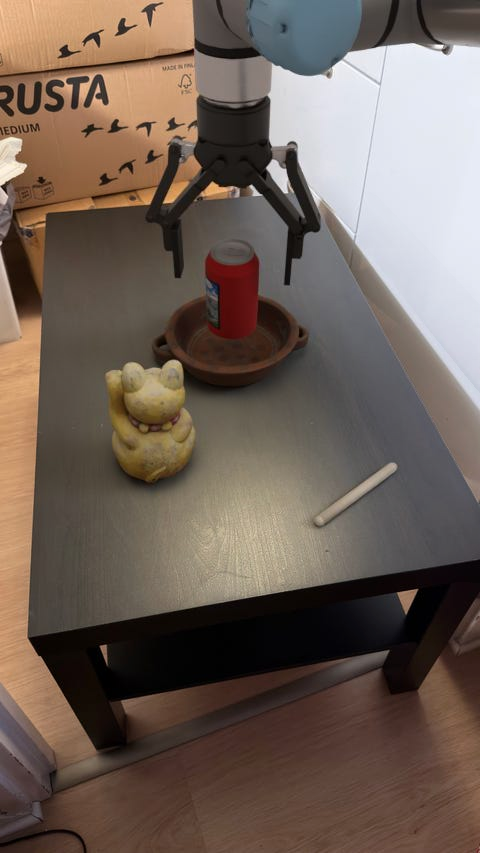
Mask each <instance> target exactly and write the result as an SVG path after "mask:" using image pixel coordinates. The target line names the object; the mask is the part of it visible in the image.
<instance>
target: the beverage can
mask: <svg viewBox="0 0 480 853" xmlns="http://www.w3.org/2000/svg"><path fill="white" fill-rule="evenodd" d="M204 277H205V278H204V279H205V280H204V282H205V295H206V311H207V326H208V328H209V330H210V331H211V332H212V333H213V334H215V335H216V336H218V337H221V338H225V339H239V338H243V337H246V336H248V335H250V334H251V333H252V332H253V331H254V330H255V328H256V325H257V309H258V295H259V287H260V286H259V283H260V259H259V257H258V255H257V253H256V251H255V248H254V246H253V244H251V243H250V242H249V241H247V240H245V239H242V238H237V237H235V238H234V237H229V238H224V239H219V240H218V241H216V242H214V243H213V244H212V245H211V247H210V250H209V252H208V253H207V255H206V257H205V260H204Z"/></svg>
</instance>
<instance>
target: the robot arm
mask: <svg viewBox="0 0 480 853" xmlns="http://www.w3.org/2000/svg"><path fill="white" fill-rule="evenodd" d="M192 22H193V23H192V24H193V40H194V42H193V44H194V45H193V52H194V53H193V55H194V56H193V57H194V78H195V79H194V80H195V81H194V82H195V91H196V92H197V94H198V96H197V97H196V100H195V102H196V104H195V106H196V126H197V128H196V129H197V139H196V142H193V141H187V140H184V139H183V138H182V136H180V135H178V134H177V135H174V136H172V138H171V140H170V143H169V146H168V148H167V164H166V167H165V169H164V171H163V174H162V176H161V178H160V180H159V182H158V185H157V187H156V189H155V192H154V195H153V197H152V199H151V201H150V203H149V206H148V208H147V211H146V212H145V216H144V219H145V221H146V222H147V223H148V224H153V223H155V224H158V225H159V226H160V227H161V230H162V231H161V232H162V241H163V242H162V243H163V248H164V251H165V252H172V262H173V275H174V279H182V276H183V272H184V269H185V259H184V258H185V257H184V245H183V230H182V229H183V228H182V219H181V218H180V217H181V216H182V215H183V214H184V213H185V212H186V210H187V209H189V207H190V206H191V205H192V204H193V203H194V202H195V201H196V199H197V198H198V197H199V196H200V195H201V194H202V193H203V192H205V190H206V189H207V188H208V187H209V186H210V185H211V184H212V183H213V184H215V185H217V186H218V188H229V187H234V188H237V189H244V190H245V189H247V187H250V186H253V188H254V189H255V190H256V192H257V193H258V194H259V195H261V196H262V197H263V198H264V199H265V200H266V201H267V202H268V204H269V205H270V207H271V208H272V209H273V210H274V211H275V213H276V214H277V215H278V216H279V218H280V219H281V220H282V221H283V223H284V224H285V225H286V226H287V237H286V249H285V251H286V252H285V265H284V278H283V286H291V276H292V264H293V260H300V259H301V258H302V257H303V250H304V241H305V237H306V235H307V234H309V233H311V232H312V233H315V234H317V233H319V232H320V231H321V228H322V225H321V224H322V215H321V213H320V211H319V209H318V206H317V204H316V201H315V199H314V196H313V194H312V192H311V189H310V186H309V184H308V182H307V179H306V177H305V175H304V172H303V170H302V167H301V165H300V163H299V145H298V143H297V141H294V140H291V141H288V142H287V144H286V145H278V146H273V145H272V143H271V141H270V127H271V126H270V125H271V124H270V123H271V104H272V102H271V101H272V100H271V98H270V97H269V94H270V93H271V92H272V78H273V77H272V76H273V65H274V66H275V67H281V68H282V69H283V70H285V71H289V72H290V73H293V74H294V75H298V76H303V77H314V76H319V75H323V74H325V73H327V72H328V71H329V70H330V69H332V68H333V67H334V66H335V65H336V64H338V63H339V62H342V60H344V58H345V57H347V55H348V53H353V52H361V51H366V50H372V49H376V48H382V47H390V46H399V45H408V44H409V45H410V44H421V45H422V44H423V45H424V44H425V45H435V46H436V45H437V46H458V47H468V48H480V0H192ZM191 156H193V157H194V159H195V161H196V162H197V163H198V165H199V166H200V167H201V168H200V169H199V170H198V172H197V173H196V175H194V177H193V178H192V179H191V180H190V182H188V184H187V185H186V186H185V187H184V188H183V190H182V191H181V192H180V193H179V194H178V195H177V197H176V198H175V199H174V200H173V202H171V204H170V205H169V206H168V207H166V208H162V206H163V204H164V202H165V200H166V197H167V195H168V193H169V191H170V188H171V186H172V184H173V182H174V180H175V177H176V175H177V173H178V170H179V168H180V165H181V164H185V163H187V161H188V159H189V157H191ZM272 160H273V161H277V163H278V166H279V167H280V168H281V169H282V170H285V171H286V176H287V179H288V182H289V184H290V187H291V189H292V190H293V193H294V195H295V197H296V200H297V202H298V204H299V207H300V209H301V211H302V214H303V216H304V217H303V216H302V214H301V213H300V212H299V210H298V209H297V208H296V207H295V205H294V204H293V202H292V201H291V200H290V199H289V198H288V196H287V195H286V194H285V193H284V191H283V190H282V189H281V187H280V186H279V185H278V183H277V182H276V180H274V179H273V177H272V174H271V172H270V171H269V170H268V168H267V167H268V166H270V164H271V162H272Z"/></svg>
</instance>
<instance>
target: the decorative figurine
mask: <svg viewBox="0 0 480 853" xmlns="http://www.w3.org/2000/svg"><path fill="white" fill-rule="evenodd" d="M184 378H185V376H184V367H183V366H182V365H181V363H180V362H179V361H177V360H170V361H168V362H165V363H164V365H163V366H162V367H161V368H159V367H150V368H147V369H144V367H143V366H142V365H141V364H139V363H137V362H133V361H130V362H127V363H125V365H124V366H123V368H122V370H120V369H111V370H109V371H108V372H106V373H105V375H104V379H105V383H106V384H105V385H106V387H107V392H108V398H109V400H108V414H109V415H108V416H109V420H110V422H111V427H112V428H113V430H114V431H113V433H112V436H111V446H112V450H113V452H114V455H115V457H116V459H117V462H118V464H119V465H120V467H121V469H122V470H123V471H124V472H125V473H126V474H128V475H129V476H130V477H132V478H136V479H138V480H143V481H145V482H146V483H156V482H157V481H158V480H159V479H165V478H168V477H171V476H173V475H174V476H175V474H178V472H180V471H181V470H182V469H183V468H184V467H185V466H186V464H187V463H188V462H189V460H190V457H191V455H192V453H193V451H194V448H195V446H196V442H197V441H196V438H197V436H196V431H195V428H194V426H193V425H194V424H193V419H192V417H191V414H190V413H189V411H188V410H187V409H185V408H184V404H185V401H186V389H185V386H184Z"/></svg>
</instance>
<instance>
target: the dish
mask: <svg viewBox="0 0 480 853" xmlns="http://www.w3.org/2000/svg"><path fill="white" fill-rule="evenodd" d="M309 337H310V332H309V330H308V329H307V328H306V327H304V326H303V325H301V324H299V323H298V321H297V319H296V318H295V317H294V315H293V314H292V313H291V312H290V311H288V310H287V309H286V308H285V307H284V306H283V305H282V304H280V303H279V302H277V301H275V300H273V299H271V298H269V297H267V296H264V295H260V294H258V309H257V325H256V328H255V330H254V331H253V332H252V333H251V334H250V335H248V336H246V337H243V338H239V339H225V338H221V337H218V336H216V335H215V334H213V333H212V332H211V331H210V330H209V328H208V326H207V311H206V294H204V295H200V296H198V297H196V298H193V299H191V300H188V301H187V302H185V303H184V304H182V305H180V306H179V307H178V308H177V309H175V311H174V312H172V314H171V315H170V317H169V319H168V321H167V324H166V327H165V331H164V332H163V333H161V334H159V335H158V336H156V337H155V338H153V339H152V342H151V350H152V354H153V355H154V357H155V358H156V359H157V360H159V361H160V362H163V363H167V362H168V361H170V360H177V361H179V362H180V363H181V365H182V368H183V369H185V371H187V372H188V373H189V374H190V375H192V377H194V378H196V379H197V380H200V381H201V382H204V383H207V384H211V385H213V386H214V385H215V386H221V387H243V386H248V385H252V384H255V383H258V382H261V381H262V380H263V379H266V378H267V377H269V376H271V374H272V373H273V372H275V371H276V370H277V369H278V368H279V366H280V365H281V364H282V363H283V361H284V360H285V358H286V357H287V356H288V355H289V354H290V353H291V352H295V351H298V350H302V349H303V348H304V347H306V346H307V344H308V342H309ZM166 345H167V346H168V348H169V350H168V351H165V350H163V349H161V347H163V346H166Z"/></svg>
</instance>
